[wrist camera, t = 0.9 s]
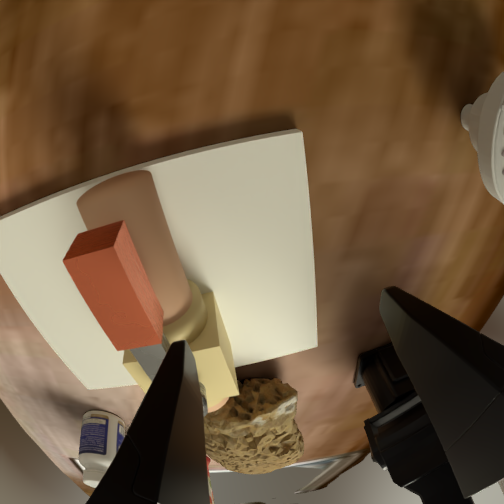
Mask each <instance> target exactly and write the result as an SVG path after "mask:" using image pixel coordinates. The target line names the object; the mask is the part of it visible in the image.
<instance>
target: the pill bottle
mask: <svg viewBox="0 0 504 504" xmlns="http://www.w3.org/2000/svg"><path fill="white" fill-rule="evenodd" d="M124 437H125V423H124V421H123V420H122V419H121V418H119V417H118V416H116V415H114V414H111V413H108V412H104V411H88V412H86V413H85V414H84V415H83V421H82V429H81V437H80V447H79V462H80V463H81V465H82V466H83V467H85V470H84V471H83V472H84V473H83V482H84V483H85V484H86V485H89V486H91V487H94V488H96V487H97V485H98V484H99V482H100V480H101V479H102V477H103V476H104V474H105V473H106V471H107V469H108V467H109V466H110V464H111V462H112V461H113V459H114V457H115V455H116V453H117V451H118V449H119V447H120V446H121V444H122V441H123V439H124Z"/></svg>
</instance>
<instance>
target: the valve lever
mask: <svg viewBox="0 0 504 504" xmlns="http://www.w3.org/2000/svg"><path fill="white" fill-rule="evenodd" d="M63 263H64V265H65V267H66V269H67V271H68V273H69V274H70V276H71V278H72V280H73V282H74V283H75V285H76V287H77V289H78V290H79V292H80V294H81V295H82V297H83V299H84V300H85V302H86V304H87V305H88V307H89V309H90V310H91V312H92V314H93V315H94V317H95V318H96V320H97V321H98V323H99V325H100V326H101V328H102V329H103V331H104V332H105V334H106V335H107V337H108V338H109V340H110V341H111V343H112V344H113V345H114V347H115V348H116V350H117V351H121V350H128V349H129V350H130V351H131V353H132V354H133V355H134V357H135V358H136V360H137V361H138V363H139V364H140V366H141V367H142V368H143V370H144V371H145V373H146V374H147V375H148V377H149V378H150V380H151V381H153V379H154V377H155V375H156V373H157V371H158V369H159V367H160V365H161V363H162V361H163V359H164V357H165V355H166V353H167V351H168V349H169V347H170V343H169V341H168V340H167V338H166V336H165V334H164V332H163V316H164V311H163V309H162V307H161V305H160V303H159V301H158V299H157V296H156V294H155V292H154V290H153V288H152V285H151V283H150V281H149V279H148V277H147V274H146V272H145V270H144V267H143V265H142V263H141V260H140V258H139V256H138V253H137V251H136V249H135V246H134V244H133V241H132V239H131V236H130V234H129V231H128V229H127V226H126V224H125V221H124V220H122V221H118V222H115V223H111V224H108V225H105V226H101V227H98V228H95V229H91V230H88V231H85V232H82V233H78V234H77V236H76V237H75V239H74V241H73V243H72V244H71V246H70V248H69V250H68V251H67V253H66V255H65V257H64V259H63ZM199 385H200V391H201V397H202V403H203V414H204V416H206V415H207V413H208V407H207V397H206V388H205V386H204V385H203V384H202V383H201V382H199Z"/></svg>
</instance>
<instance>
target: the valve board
mask: <svg viewBox="0 0 504 504" xmlns="http://www.w3.org/2000/svg"><path fill="white" fill-rule="evenodd" d="M122 220H124V221H125V224H126V226H127V229H128V231H129V234H130V236H131V239H132V241H133V244H134V246H135V249H136V251H137V253H138V256H139V258H140V260H141V263H142V265H143V267H144V270H145V272H146V274H147V277H148V279H149V281H150V283H151V285H152V288H153V290H154V292H155V294H156V296H157V299H158V301H159V303H160V305H161V307H162V309H163V311H164V316H163V332H164V334H165V336H166V338H167V340H168V341H169V343H170V345H171V344H172V343H173V342H174V341H179V340H186V341H187V343H188V345H189V347H190V349H191V351H192V353H193V355H194V358H195V361H196V367H197V373H198V379H199V382H201V383H202V384H203V385H204V386H205V388H206V397H207V407H208V413H209V412H213V411H216V410H218V409H219V408H221V407H222V406H223V405H224V404H225V403H226V402H227V400H228V399H229V397H231V396H236V395H239V389H238V384H237V378H236V372H235V367H239V366H244V365H248V364H252V363H257V362H261V361H265V360H269V359H273V358H277V357H281V356H285V355H289V354H292V353H296V352H300V351H303V350H307V349H311V348H314V347H318V345H317V311H316V288H315V269H314V252H313V237H312V224H311V211H310V200H309V189H308V179H307V169H306V159H305V150H304V141H303V133H302V131H300V130H298V129H291V130H285V131H279V132H273V133H268V134H262V135H257V136H252V137H247V138H242V139H237V140H232V141H228V142H223V143H219V144H214V145H210V146H206V147H201V148H197V149H193V150H189V151H185V152H181V153H177V154H174V155H170V156H166V157H163V158H159V159H155V160H152V161H149V162H145V163H142V164H138V165H135V166H132V167H129V168H125V169H122V170H119V171H116V172H113V173H110V174H107V175H104V176H101V177H98V178H95V179H92V180H89V181H86V182H84V183H81V184H78V185H75V186H73V187H70V188H67V189H65V190H62V191H59V192H57V193H54V194H52V195H49V196H47V197H44V198H42V199H39V200H37V201H34V202H32V203H30V204H27V205H25V206H23V207H20V208H18V209H16V210H14V211H11V212H9V213H7V214H5V215H3V216H0V273H1V275H2V277H3V278H4V280H5V282H6V283H7V285H8V287H9V288H10V290H11V291H12V293H13V295H14V296H15V298H16V299H17V301H18V302H19V304H20V305H21V307H22V308H23V310H24V311H25V312H26V314H27V315H28V317H29V318H30V320H31V321H32V322H33V324H34V325H35V326H36V328H37V329H38V330H39V332H40V333H41V334H42V336H43V337H44V338H45V340H46V341H47V342H48V344H49V345H50V346H51V347H52V349H53V350H54V351H55V352H56V354H57V355H58V356H59V357H60V358H61V360H62V361H63V362H64V363H65V364H66V365H67V367H68V368H69V369H70V370H71V371H72V372H73V374H74V375H75V376H76V377H77V378H78V379H79V380H80V381H81V382H82V383H83V385H84V386H85V387H86V388H87V389H88V390H91V389H102V388H112V387H121V386H129V385H137V384H138V385H139V386H140V387H141V389H142V390H143V391H144V392H145V393H147V391H148V389H149V387H150V385H151V383H152V381H151V380H150V378H149V377H148V375H147V374H146V373H145V371H144V370H143V368H142V367H141V366H140V364H139V363H138V361H137V360H136V358H135V357H134V355H133V354H132V353H131V351H130V350H129V349H128V350H121V351H117V350H116V348H115V347H114V345H113V344H112V343H111V341H110V340H109V338H108V337H107V335H106V334H105V332H104V331H103V329H102V328H101V326H100V325H99V323H98V321H97V320H96V318H95V317H94V315H93V314H92V312H91V310H90V309H89V307H88V305H87V304H86V302H85V300H84V299H83V297H82V295H81V294H80V292H79V290H78V289H77V287H76V285H75V283H74V282H73V280H72V278H71V276H70V274H69V273H68V271H67V269H66V267H65V265H64V263H63V259H64V257H65V255H66V253H67V251H68V250H69V248H70V246H71V244H72V243H73V241H74V239H75V237H76V236H77V234H78V233H82V232H85V231H88V230H91V229H95V228H98V227H101V226H105V225H108V224H111V223H115V222H118V221H122Z"/></svg>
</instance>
